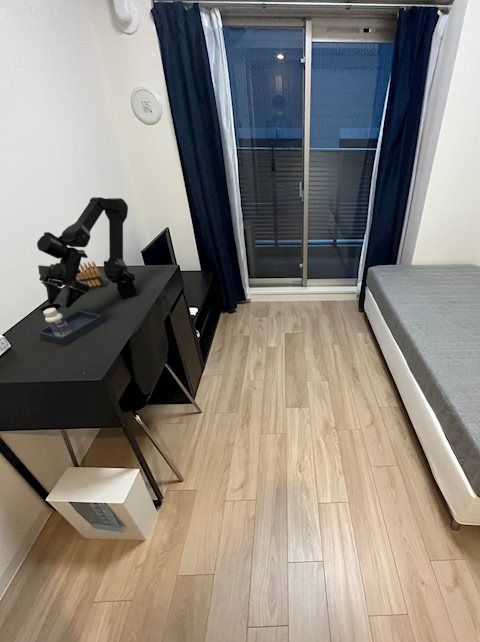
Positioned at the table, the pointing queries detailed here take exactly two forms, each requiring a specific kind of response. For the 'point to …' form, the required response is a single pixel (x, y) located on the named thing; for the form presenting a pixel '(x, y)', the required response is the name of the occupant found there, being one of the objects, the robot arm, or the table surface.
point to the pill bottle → (56, 322)
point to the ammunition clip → (88, 278)
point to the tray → (74, 327)
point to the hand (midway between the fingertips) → (58, 305)
